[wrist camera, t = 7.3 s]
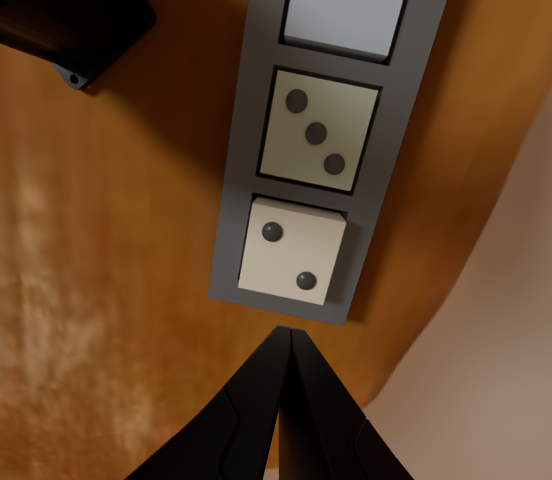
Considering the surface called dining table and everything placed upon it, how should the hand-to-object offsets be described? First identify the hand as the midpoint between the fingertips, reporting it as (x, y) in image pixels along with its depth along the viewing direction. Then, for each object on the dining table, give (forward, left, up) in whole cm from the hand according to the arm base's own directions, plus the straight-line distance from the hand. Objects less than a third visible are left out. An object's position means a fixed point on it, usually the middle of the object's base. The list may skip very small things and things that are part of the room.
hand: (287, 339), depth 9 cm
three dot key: (+4, +5, -11) cm, 13 cm away
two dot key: (0, 0, -10) cm, 10 cm away
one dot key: (+9, +9, -11) cm, 17 cm away
